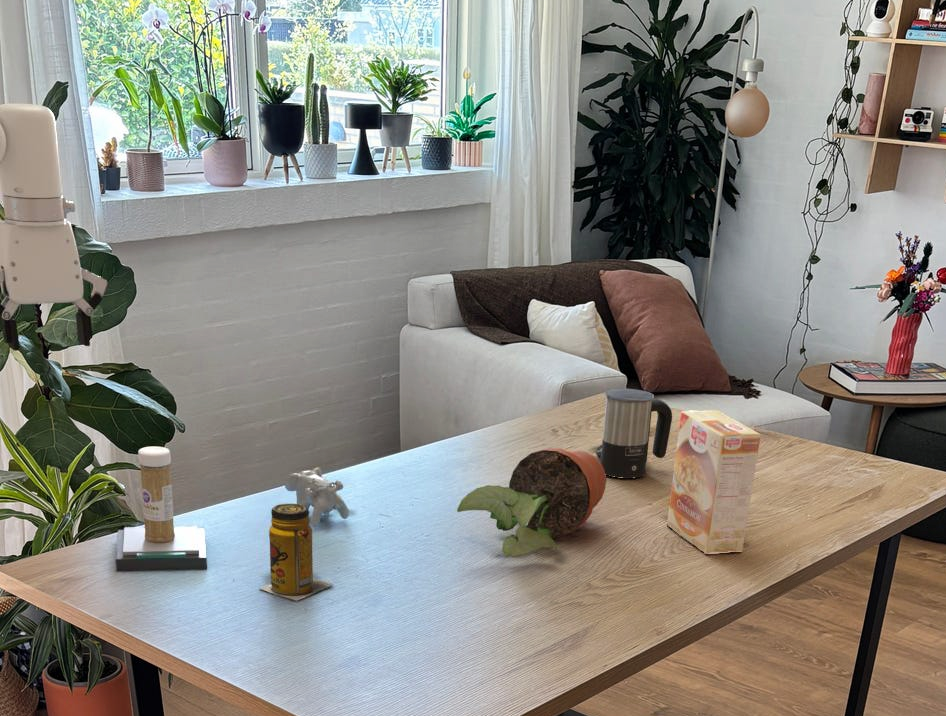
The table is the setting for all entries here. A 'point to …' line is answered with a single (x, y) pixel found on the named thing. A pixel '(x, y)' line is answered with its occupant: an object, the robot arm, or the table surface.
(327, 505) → the elephant statuette
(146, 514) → the sprinkles bottle
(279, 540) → the condiment
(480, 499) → the potted plant
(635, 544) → the table surface
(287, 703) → the table surface
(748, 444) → the coffeecake box
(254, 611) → the table surface
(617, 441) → the milk frother
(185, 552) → the kitchen scale
